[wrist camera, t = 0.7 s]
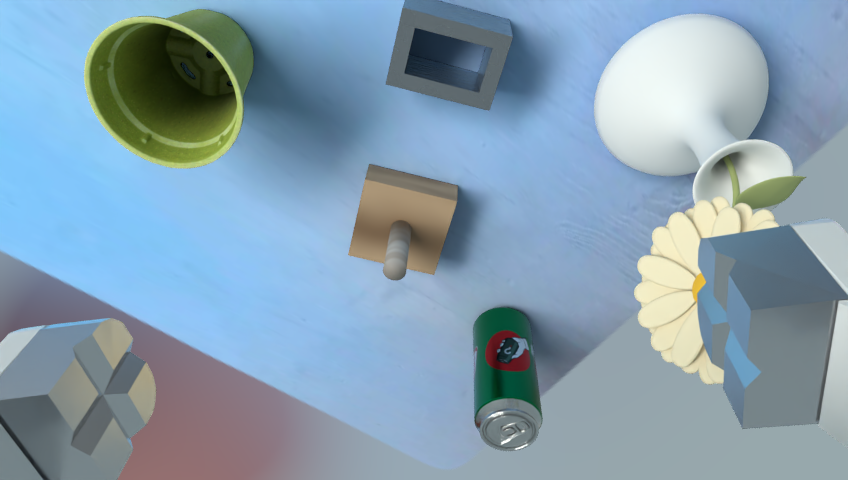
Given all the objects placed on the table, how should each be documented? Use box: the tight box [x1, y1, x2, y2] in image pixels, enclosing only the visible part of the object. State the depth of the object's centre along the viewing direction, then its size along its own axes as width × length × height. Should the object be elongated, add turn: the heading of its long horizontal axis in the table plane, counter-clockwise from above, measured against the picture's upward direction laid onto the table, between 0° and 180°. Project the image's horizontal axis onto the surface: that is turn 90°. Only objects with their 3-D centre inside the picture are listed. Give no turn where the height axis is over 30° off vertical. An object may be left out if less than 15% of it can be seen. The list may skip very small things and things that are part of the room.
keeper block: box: [348, 164, 458, 280], centre depth 49 cm, size 7×7×8 cm
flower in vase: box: [594, 14, 806, 385], centre depth 36 cm, size 13×11×25 cm
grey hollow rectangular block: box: [386, 0, 513, 111], centre depth 43 cm, size 7×5×4 cm
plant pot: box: [84, 9, 254, 168], centre depth 43 cm, size 9×9×9 cm
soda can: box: [473, 307, 542, 451], centre depth 53 cm, size 5×5×12 cm
